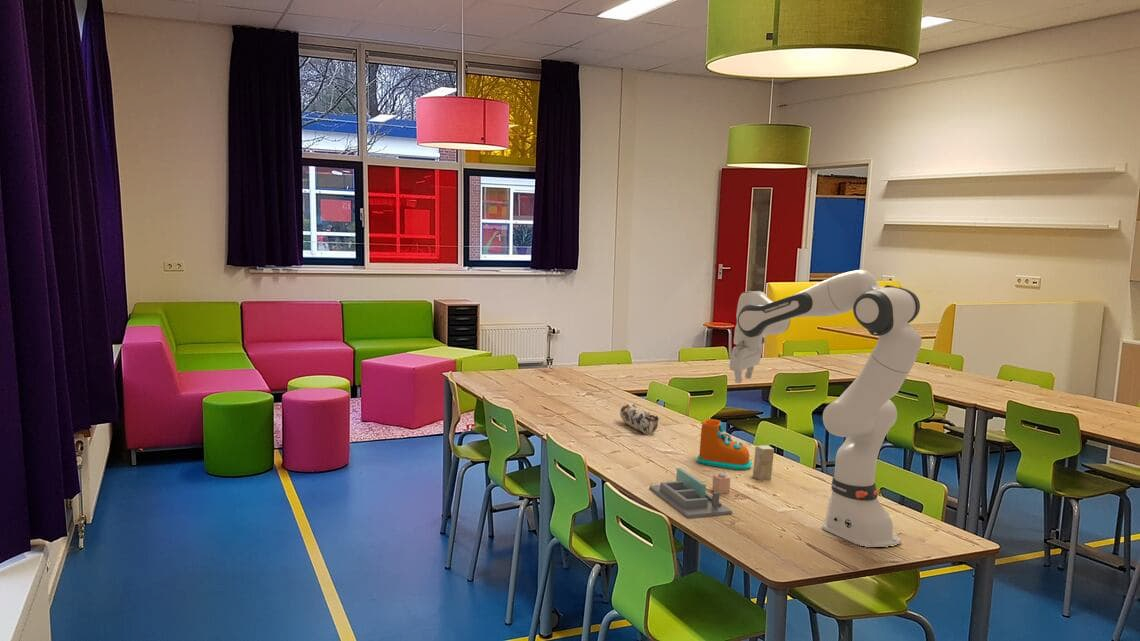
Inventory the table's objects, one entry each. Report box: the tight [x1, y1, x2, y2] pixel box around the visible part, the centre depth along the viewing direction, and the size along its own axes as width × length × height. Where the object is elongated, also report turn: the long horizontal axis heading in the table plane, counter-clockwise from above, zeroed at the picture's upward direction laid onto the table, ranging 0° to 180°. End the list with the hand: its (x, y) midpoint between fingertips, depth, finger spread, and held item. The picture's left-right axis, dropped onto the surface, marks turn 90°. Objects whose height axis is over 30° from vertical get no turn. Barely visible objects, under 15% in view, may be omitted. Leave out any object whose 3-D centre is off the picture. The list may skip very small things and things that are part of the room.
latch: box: [675, 467, 707, 498], centre depth 251 cm, size 17×1×4 cm, turn 20°
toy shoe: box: [696, 418, 752, 471], centre depth 285 cm, size 12×20×15 cm, turn 70°
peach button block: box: [711, 472, 731, 494], centre depth 255 cm, size 4×4×6 cm
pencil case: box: [619, 401, 660, 436], centre depth 329 cm, size 22×8×10 cm, turn 22°
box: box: [752, 445, 775, 480], centre depth 271 cm, size 5×4×11 cm
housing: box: [649, 480, 733, 519], centre depth 245 cm, size 26×15×6 cm, turn 20°
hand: (743, 380), depth 258 cm, fingers open, 8 cm apart
